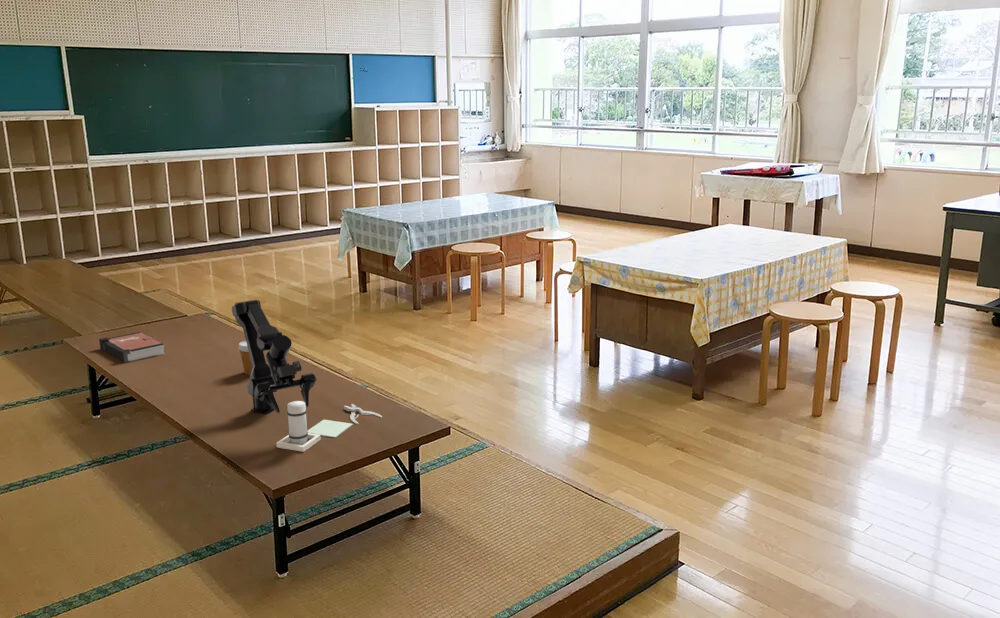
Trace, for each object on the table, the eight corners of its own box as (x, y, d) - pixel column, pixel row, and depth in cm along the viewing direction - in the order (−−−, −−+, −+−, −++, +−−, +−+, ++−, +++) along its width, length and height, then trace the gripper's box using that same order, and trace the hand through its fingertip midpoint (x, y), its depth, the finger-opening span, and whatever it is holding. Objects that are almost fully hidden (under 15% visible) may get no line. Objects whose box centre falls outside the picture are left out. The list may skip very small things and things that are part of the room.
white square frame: (276, 447, 248) (276, 442, 248) (294, 435, 257) (294, 430, 257) (303, 451, 245) (303, 447, 245) (320, 439, 254) (320, 435, 253)
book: (167, 354, 338) (166, 343, 336) (124, 364, 326) (123, 352, 324) (142, 341, 356) (140, 330, 354) (100, 350, 344) (99, 338, 342)
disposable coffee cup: (269, 368, 319) (267, 339, 316) (260, 376, 310) (257, 346, 307) (246, 367, 320) (243, 338, 317) (236, 376, 311) (233, 346, 308)
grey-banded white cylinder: (285, 445, 249) (282, 406, 246) (296, 438, 255) (293, 399, 251) (301, 448, 248) (299, 408, 244) (312, 441, 253) (309, 402, 249)
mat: (305, 433, 259) (305, 432, 259) (323, 420, 269) (323, 419, 269) (335, 437, 255) (335, 436, 255) (353, 424, 265) (353, 423, 265)
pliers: (356, 421, 265) (335, 407, 276) (357, 425, 265) (335, 412, 276) (383, 414, 271) (360, 401, 282) (383, 418, 271) (360, 405, 282)
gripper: (253, 359, 246) (268, 404, 240) (312, 348, 256) (327, 391, 250) (248, 376, 254) (262, 420, 248) (305, 365, 264) (319, 407, 258)
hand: (293, 409), depth 251 cm, fingers open, 9 cm apart
